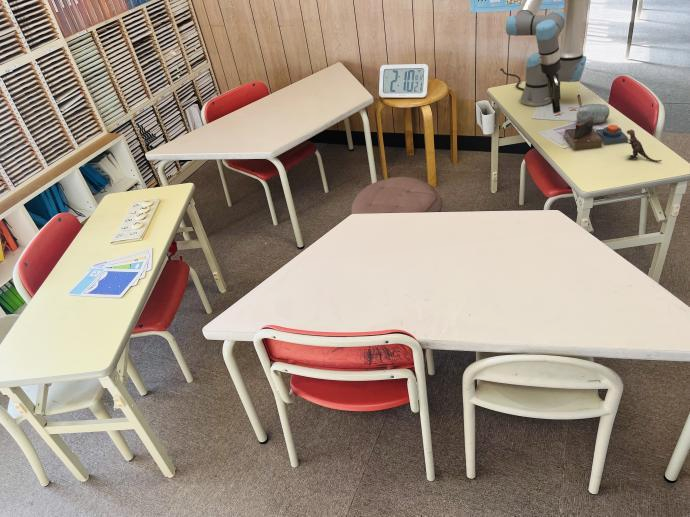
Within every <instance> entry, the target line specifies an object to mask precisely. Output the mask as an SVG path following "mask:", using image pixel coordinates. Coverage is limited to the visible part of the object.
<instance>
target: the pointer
mask: <svg viewBox="0 0 690 517" xmlns="http://www.w3.org/2000/svg"><path fill="white" fill-rule="evenodd" d="M593 120H594V118H593V117H588V118H587V119H585V120H583V121H582V122H578V123H576V124H575V126H574V128H575V136H574V138H575V139H580V138H581V137H583V136H584V135H586V134H588V133H589V132H591V131H592V128H593V129H594V127H593V126H594V123H593Z"/></svg>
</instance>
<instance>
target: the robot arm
mask: <svg viewBox="0 0 690 517" xmlns="http://www.w3.org/2000/svg"><path fill="white" fill-rule="evenodd" d="M543 1H544V0H522V2H521V4H520V7H519V8H518V10H517V13H516V15H509V16H508V17H507V19H506V21H505V33H506V35H508V36H514V37H521V36H523V37H524V36H525V37H526V36H535V38H536V43H537V50H538V52H535V53H532V54H531V55H529V56H528V57H527V58H526V65H525V83H524V84H525V85H524V88H523V87H521V86H519V84H520V83H521V81H522V80H521V77H520V76H519V75H517V74H513V73H508V72H505V70H504V68H500V69H499V71H500V72H502V73H503V74H504V75H506V76H510V77H515V78H517V79H518V81H517V83H516V84H517V85H516V84H515V87H516V88H517V89H518V90H521V91H522V93H521V96H520V103H521V104H523V105H525V106H529V107H542V106H546V105H548V104H550V103H551V106H552V113H553V114H558V113H560V112H561V102H560V100H561V83H577V82H579V81H580V80H581V78H582V76H583V74H584V69H585V67H586V63H587V56H585V55H584V51H583V50H582V49H581V42H582V33H583V23H584V15H585V7H586V6H585V5H586V4H585V3H586V0H564V1H563V10H562V11H563V12H562V11H561V10H558V9H557V10H552V11H551V12H549V13H548V14H538V12H539V10H540V7H541V5H542V3H543ZM560 34H561V36H560ZM559 37H560V44H559Z"/></svg>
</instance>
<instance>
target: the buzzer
mask: <svg viewBox="0 0 690 517" xmlns="http://www.w3.org/2000/svg"><path fill="white" fill-rule="evenodd" d="M607 129H608V126H606V127H604V128H600V129H596V130H595V132H596V133H597V132H601V133H597V134H598V135H599V136H600V138H601V139H602V144H603V145H605V146H609V145H610V146H611V145H616V144H617V145H619V144H624V143H625V144H627V142H629V140H627V139H629V137H628V135H626V134H625V133H624V131H622V130H623V129H622V128H621V127H619V126H618V131H617V132H609V131H607ZM626 141H627V142H626Z"/></svg>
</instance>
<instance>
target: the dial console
mask: <svg viewBox="0 0 690 517" xmlns="http://www.w3.org/2000/svg"><path fill="white" fill-rule="evenodd" d="M597 133H601V132H597ZM597 133H596V130H595V129H594V127H593V128H592V131H591V132H589V133H588V134H586V135H584V136H583V137H581V138H580V139H575V138H574V136H575V127H573V128H566V129H564V135H563V138H564V139H565V140H566V141H567V143H568V144H569V146H570V147H571V148H572V150H573V151H574V152H575V151H583V150H585V151H586V150H593V149H600V148H602V146H603V142H602V139H601V138H600V136H599V135H598V134H597Z"/></svg>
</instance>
